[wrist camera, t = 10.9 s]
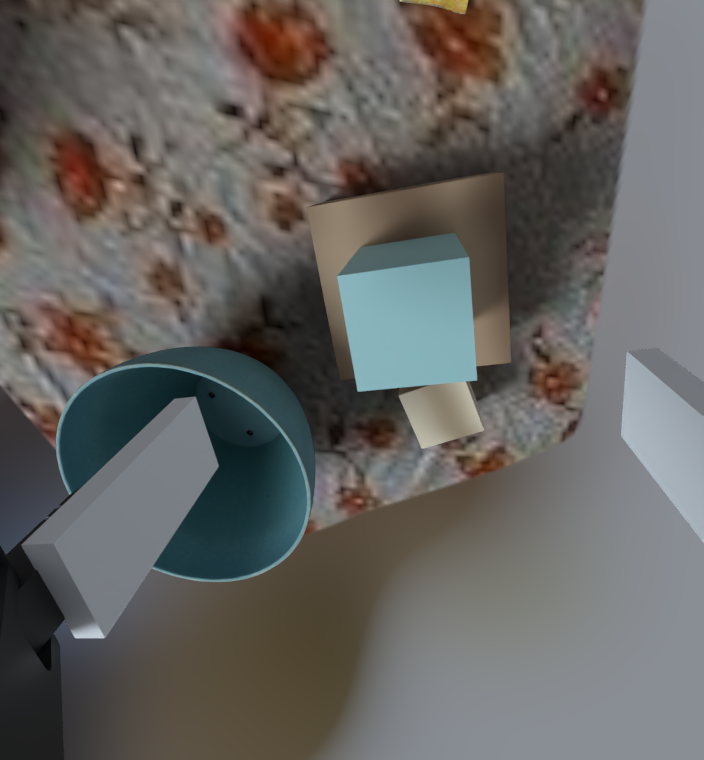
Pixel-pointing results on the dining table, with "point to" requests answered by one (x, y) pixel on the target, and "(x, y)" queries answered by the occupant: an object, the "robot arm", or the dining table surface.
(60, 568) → the robot arm
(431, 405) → the cream cube
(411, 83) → the dining table surface
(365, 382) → the teal block
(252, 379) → the plant pot
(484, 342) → the walnut block
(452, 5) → the candy bar
